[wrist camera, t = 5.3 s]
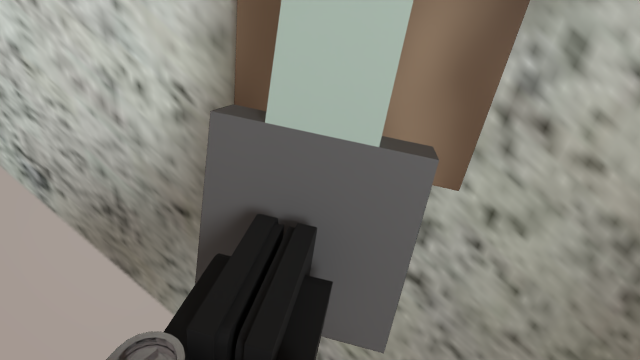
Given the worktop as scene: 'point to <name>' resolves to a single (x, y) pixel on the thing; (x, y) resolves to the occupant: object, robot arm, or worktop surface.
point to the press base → (412, 72)
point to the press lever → (326, 161)
